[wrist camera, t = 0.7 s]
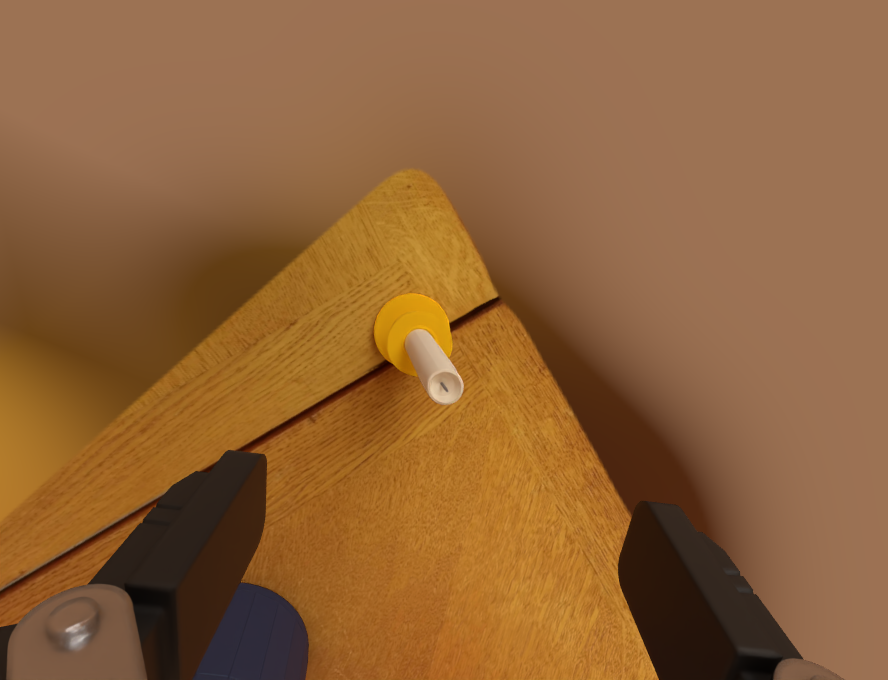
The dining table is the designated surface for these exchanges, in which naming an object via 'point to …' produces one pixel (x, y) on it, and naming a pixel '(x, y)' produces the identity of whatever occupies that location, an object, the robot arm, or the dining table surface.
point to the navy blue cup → (257, 640)
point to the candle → (419, 344)
